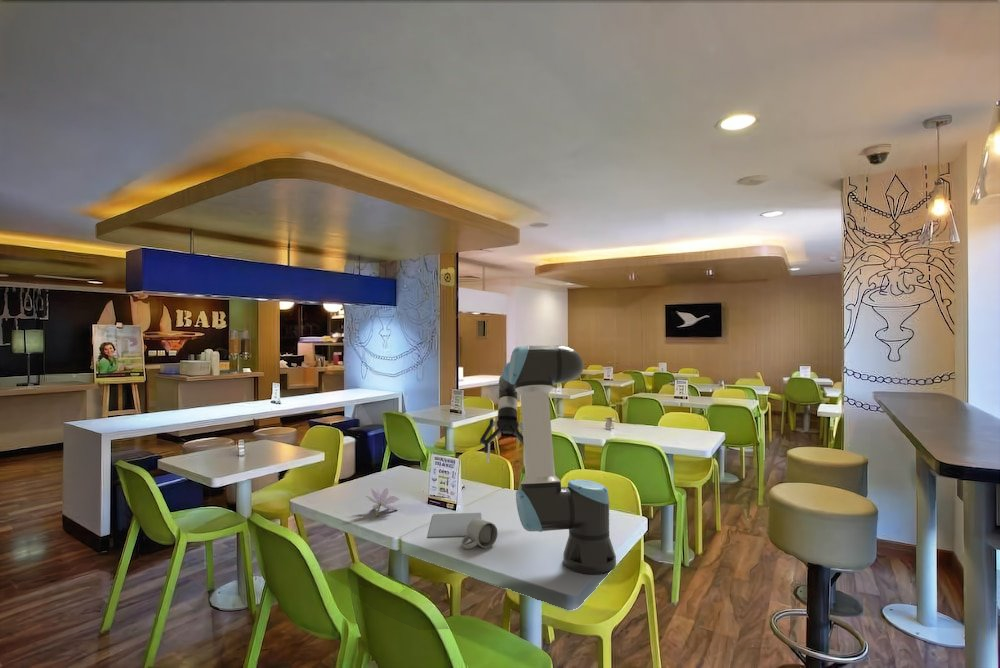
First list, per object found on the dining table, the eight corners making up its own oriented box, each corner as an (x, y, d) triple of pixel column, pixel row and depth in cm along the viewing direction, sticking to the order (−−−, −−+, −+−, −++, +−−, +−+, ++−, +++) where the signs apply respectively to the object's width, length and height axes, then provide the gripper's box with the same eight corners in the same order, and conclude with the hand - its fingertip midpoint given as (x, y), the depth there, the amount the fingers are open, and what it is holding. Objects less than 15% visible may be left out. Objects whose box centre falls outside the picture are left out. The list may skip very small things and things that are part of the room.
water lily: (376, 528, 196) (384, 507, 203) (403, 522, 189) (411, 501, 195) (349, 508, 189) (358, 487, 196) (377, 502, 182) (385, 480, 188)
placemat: (481, 536, 169) (481, 534, 169) (427, 537, 168) (427, 536, 168) (481, 513, 191) (481, 512, 191) (433, 515, 190) (433, 514, 190)
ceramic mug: (484, 536, 168) (483, 513, 168) (498, 544, 162) (497, 520, 162) (456, 545, 162) (455, 521, 162) (470, 553, 155) (469, 528, 155)
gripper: (537, 417, 202) (538, 468, 189) (475, 412, 200) (471, 464, 187) (540, 408, 196) (542, 461, 183) (476, 403, 193) (473, 456, 181)
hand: (506, 462), depth 185 cm, fingers open, 13 cm apart
